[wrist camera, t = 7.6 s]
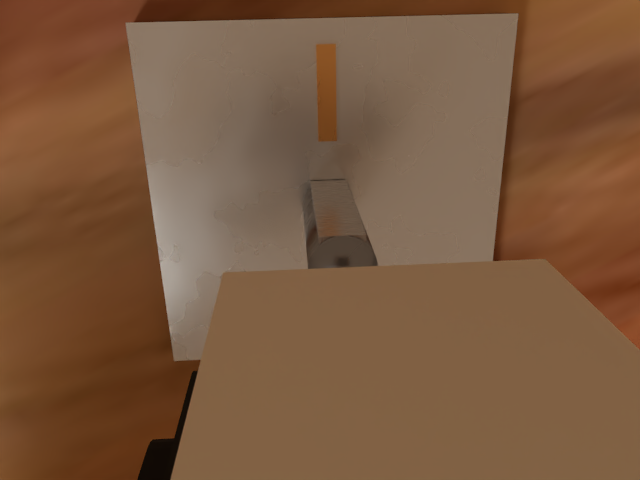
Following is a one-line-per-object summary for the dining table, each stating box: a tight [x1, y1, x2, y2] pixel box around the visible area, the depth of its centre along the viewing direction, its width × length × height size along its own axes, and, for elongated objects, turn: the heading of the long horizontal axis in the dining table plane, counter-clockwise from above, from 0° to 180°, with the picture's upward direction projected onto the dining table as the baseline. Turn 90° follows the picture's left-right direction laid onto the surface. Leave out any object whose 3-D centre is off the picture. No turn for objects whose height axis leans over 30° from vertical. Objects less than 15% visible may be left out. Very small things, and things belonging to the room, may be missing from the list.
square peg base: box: [126, 13, 519, 361], centre depth 23 cm, size 16×16×8 cm
